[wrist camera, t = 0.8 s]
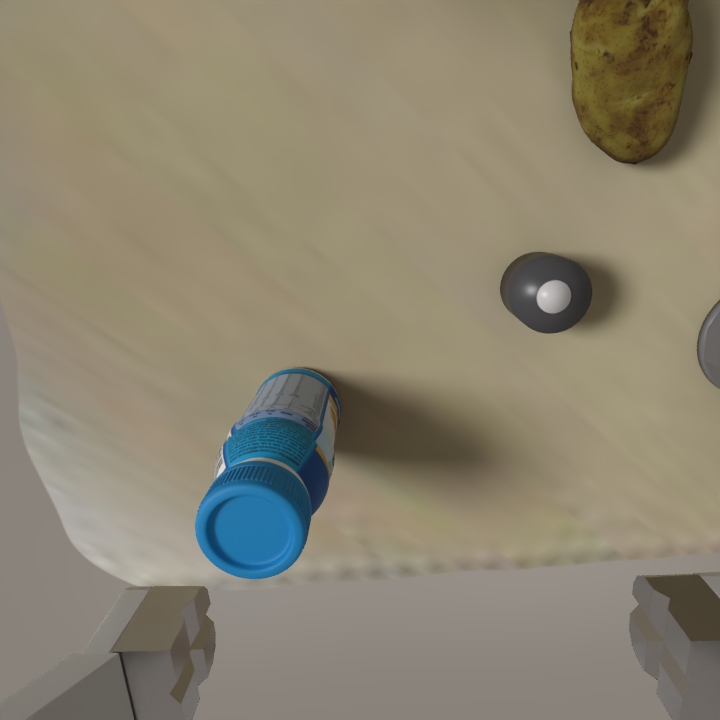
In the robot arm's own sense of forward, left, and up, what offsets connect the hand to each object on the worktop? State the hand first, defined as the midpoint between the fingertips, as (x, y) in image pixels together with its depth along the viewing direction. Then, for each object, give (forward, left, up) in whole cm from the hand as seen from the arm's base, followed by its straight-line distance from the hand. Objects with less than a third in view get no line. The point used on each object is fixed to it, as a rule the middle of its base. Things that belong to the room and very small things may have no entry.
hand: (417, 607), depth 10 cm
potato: (-15, +18, -38) cm, 45 cm away
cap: (+1, +13, -38) cm, 40 cm away
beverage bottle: (+11, -9, -38) cm, 40 cm away
